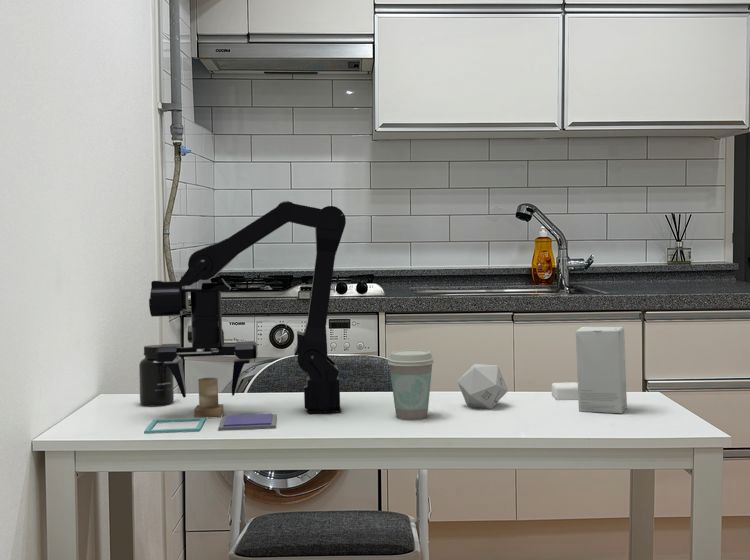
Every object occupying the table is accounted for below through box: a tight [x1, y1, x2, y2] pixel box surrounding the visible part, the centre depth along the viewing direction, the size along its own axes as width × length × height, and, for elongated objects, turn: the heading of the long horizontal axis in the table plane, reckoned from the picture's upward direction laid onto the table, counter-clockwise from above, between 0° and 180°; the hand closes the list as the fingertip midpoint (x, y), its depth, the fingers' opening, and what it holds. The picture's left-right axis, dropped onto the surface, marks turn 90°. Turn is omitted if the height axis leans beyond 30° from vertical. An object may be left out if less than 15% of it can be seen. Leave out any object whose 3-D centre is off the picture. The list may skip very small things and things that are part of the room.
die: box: [456, 363, 509, 410], centre depth 164 cm, size 8×9×10 cm
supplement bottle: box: [138, 344, 175, 406], centre depth 173 cm, size 7×7×12 cm
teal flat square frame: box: [143, 417, 207, 434], centre depth 151 cm, size 10×10×1 cm
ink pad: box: [217, 412, 278, 431], centre depth 153 cm, size 10×10×1 cm
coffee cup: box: [387, 349, 435, 421], centre depth 155 cm, size 9×8×12 cm
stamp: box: [193, 377, 224, 418], centre depth 161 cm, size 5×5×7 cm
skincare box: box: [575, 326, 628, 414], centre depth 157 cm, size 8×7×16 cm
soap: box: [551, 381, 578, 401], centre depth 171 cm, size 9×6×3 cm, turn 89°
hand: (209, 396), depth 161 cm, fingers open, 9 cm apart
